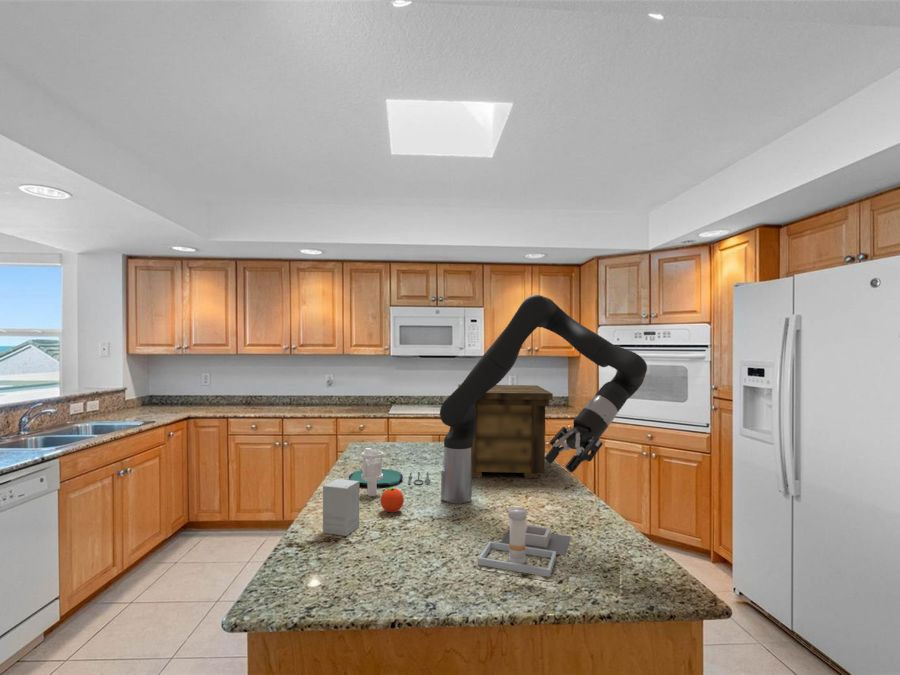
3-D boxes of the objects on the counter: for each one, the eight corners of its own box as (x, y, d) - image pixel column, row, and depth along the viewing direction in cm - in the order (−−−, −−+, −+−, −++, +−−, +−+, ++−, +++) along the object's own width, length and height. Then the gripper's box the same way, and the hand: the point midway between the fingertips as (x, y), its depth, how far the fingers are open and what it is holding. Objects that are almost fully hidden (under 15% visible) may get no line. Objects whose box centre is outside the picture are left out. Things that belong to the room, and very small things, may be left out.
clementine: (373, 510, 146) (373, 487, 146) (391, 505, 151) (391, 482, 151) (390, 517, 141) (391, 493, 141) (408, 511, 146) (408, 488, 146)
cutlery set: (352, 473, 188) (352, 467, 188) (429, 474, 189) (430, 468, 189) (344, 489, 168) (344, 482, 168) (430, 490, 170) (430, 484, 170)
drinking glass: (374, 490, 166) (375, 446, 167) (386, 494, 161) (387, 449, 162) (357, 494, 162) (357, 449, 162) (369, 499, 157) (370, 452, 157)
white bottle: (506, 565, 110) (507, 511, 110) (510, 557, 114) (511, 506, 114) (524, 568, 109) (524, 514, 109) (527, 560, 112) (528, 508, 112)
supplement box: (360, 526, 133) (360, 480, 133) (345, 537, 126) (346, 488, 126) (336, 523, 136) (337, 478, 136) (321, 533, 129) (322, 485, 129)
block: (499, 549, 119) (499, 534, 119) (509, 532, 131) (509, 518, 131) (565, 560, 114) (565, 544, 114) (570, 541, 125) (570, 526, 125)
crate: (457, 458, 215) (458, 384, 215) (536, 459, 215) (537, 385, 215) (457, 480, 180) (458, 392, 180) (551, 481, 180) (552, 393, 180)
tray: (477, 569, 109) (477, 558, 109) (489, 551, 118) (489, 541, 118) (549, 582, 103) (550, 570, 103) (555, 562, 113) (556, 551, 113)
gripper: (569, 403, 130) (532, 449, 125) (607, 411, 117) (567, 462, 112) (585, 422, 132) (549, 468, 127) (623, 432, 119) (584, 483, 114)
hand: (557, 465), depth 120 cm, fingers open, 8 cm apart
